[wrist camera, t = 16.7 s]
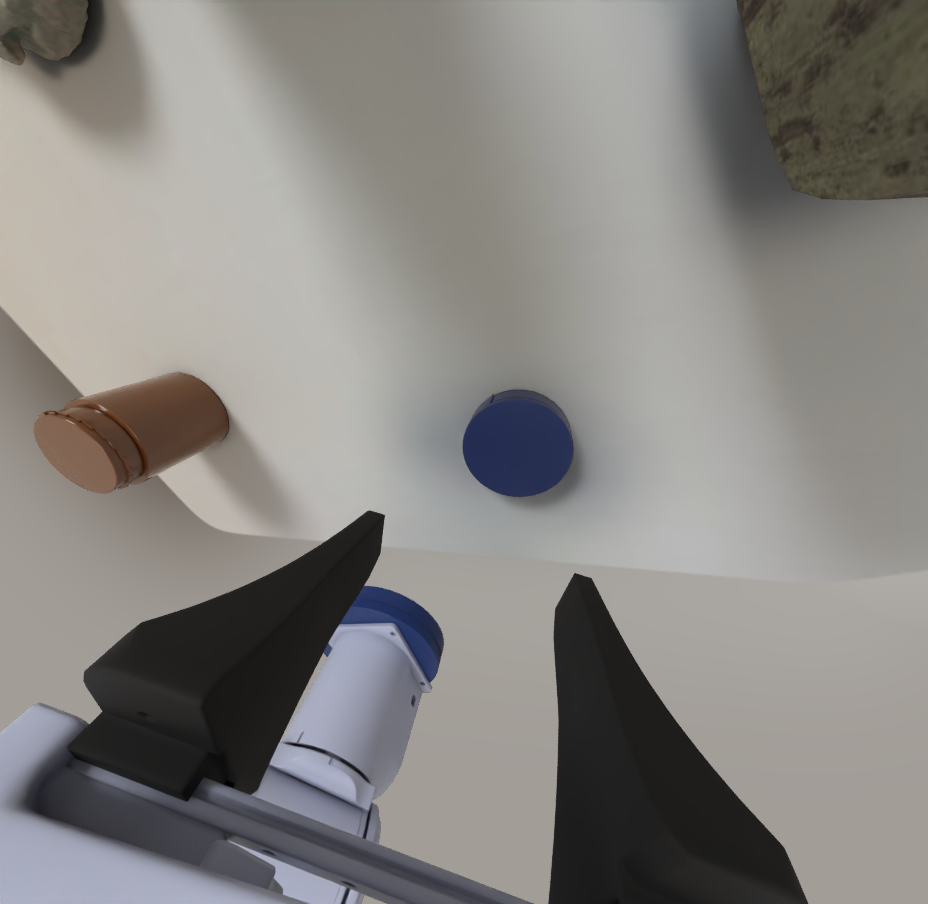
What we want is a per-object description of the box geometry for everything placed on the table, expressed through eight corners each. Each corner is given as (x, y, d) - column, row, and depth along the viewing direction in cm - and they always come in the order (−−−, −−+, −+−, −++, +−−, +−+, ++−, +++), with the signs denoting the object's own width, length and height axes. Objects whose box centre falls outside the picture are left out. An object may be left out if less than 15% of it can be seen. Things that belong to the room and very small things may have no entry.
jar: (243, 433, 24) (141, 489, 18) (193, 450, 25) (85, 505, 19) (195, 361, 22) (62, 396, 16) (145, 385, 23) (8, 424, 17)
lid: (449, 416, 20) (441, 427, 18) (542, 368, 17) (542, 377, 16) (497, 493, 22) (494, 509, 20) (587, 460, 19) (591, 475, 18)
